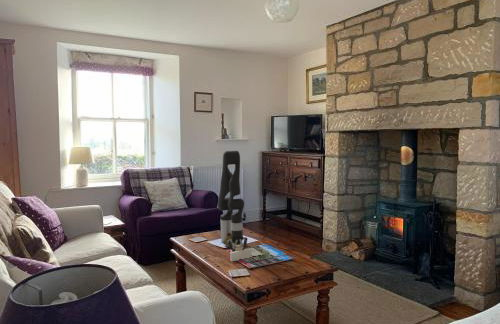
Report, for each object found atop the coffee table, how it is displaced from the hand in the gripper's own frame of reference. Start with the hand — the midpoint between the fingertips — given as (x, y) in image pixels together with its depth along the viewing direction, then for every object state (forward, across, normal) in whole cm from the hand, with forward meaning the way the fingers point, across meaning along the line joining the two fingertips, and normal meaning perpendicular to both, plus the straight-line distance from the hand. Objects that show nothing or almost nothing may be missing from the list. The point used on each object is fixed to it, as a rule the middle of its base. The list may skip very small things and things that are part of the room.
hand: (237, 253), depth 236 cm
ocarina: (+1, -3, -16) cm, 16 cm away
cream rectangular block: (+1, +1, +8) cm, 8 cm away
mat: (+1, -11, 0) cm, 11 cm away
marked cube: (+1, 0, 0) cm, 1 cm away
